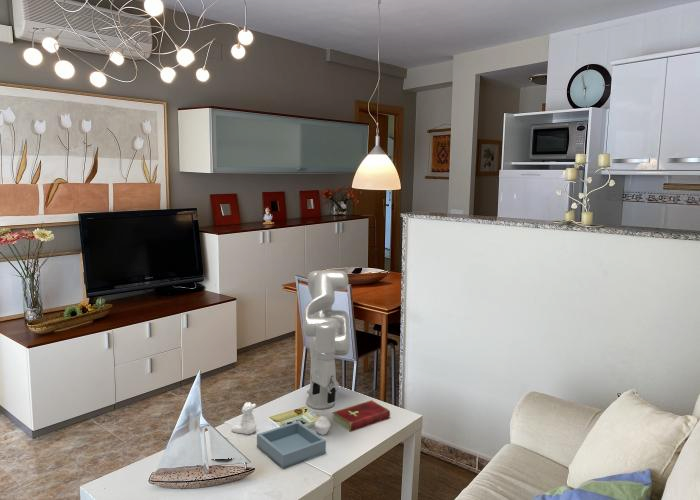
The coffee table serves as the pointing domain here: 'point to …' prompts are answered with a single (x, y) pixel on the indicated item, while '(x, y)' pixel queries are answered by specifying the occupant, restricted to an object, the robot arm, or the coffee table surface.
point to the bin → (291, 444)
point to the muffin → (322, 425)
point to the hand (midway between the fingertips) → (323, 398)
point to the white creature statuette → (246, 420)
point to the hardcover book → (361, 415)
